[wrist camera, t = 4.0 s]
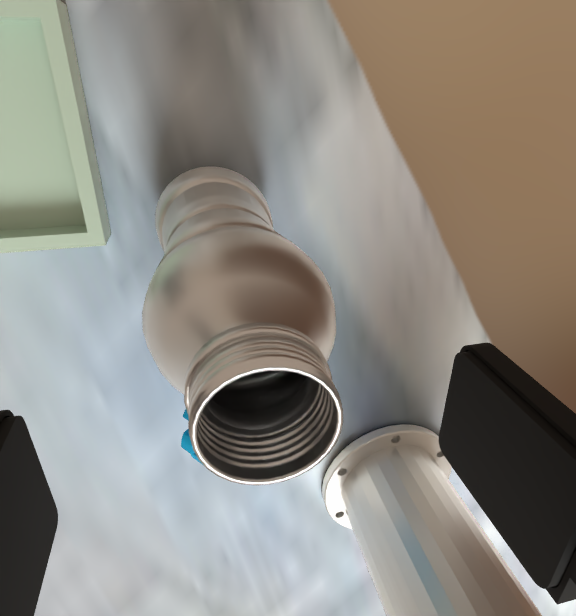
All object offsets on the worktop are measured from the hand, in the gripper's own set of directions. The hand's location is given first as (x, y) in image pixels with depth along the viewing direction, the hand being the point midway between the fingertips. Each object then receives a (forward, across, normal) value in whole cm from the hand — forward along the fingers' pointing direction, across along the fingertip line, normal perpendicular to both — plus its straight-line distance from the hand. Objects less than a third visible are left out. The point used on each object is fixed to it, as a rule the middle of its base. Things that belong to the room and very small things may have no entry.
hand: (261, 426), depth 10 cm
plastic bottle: (+20, 0, +1) cm, 21 cm away
